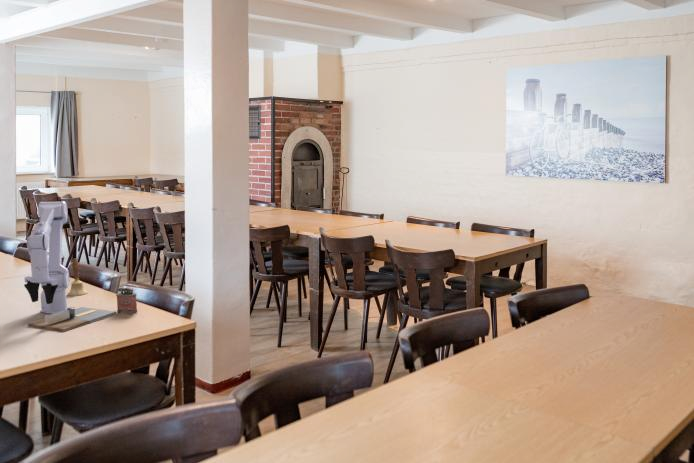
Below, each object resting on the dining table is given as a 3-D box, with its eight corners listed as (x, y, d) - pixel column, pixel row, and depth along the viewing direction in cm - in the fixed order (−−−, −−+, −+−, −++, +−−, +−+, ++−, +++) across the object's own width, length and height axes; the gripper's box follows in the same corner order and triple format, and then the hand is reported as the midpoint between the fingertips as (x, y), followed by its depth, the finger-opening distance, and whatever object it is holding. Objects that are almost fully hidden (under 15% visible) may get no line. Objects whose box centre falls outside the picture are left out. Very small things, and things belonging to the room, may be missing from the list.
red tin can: (138, 311, 275) (137, 286, 273) (135, 313, 271) (134, 288, 270) (119, 310, 276) (117, 286, 274) (115, 313, 272) (114, 288, 271)
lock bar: (71, 315, 264) (70, 307, 263) (76, 316, 262) (76, 307, 262) (44, 324, 252) (43, 315, 252) (49, 325, 251) (48, 316, 250)
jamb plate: (28, 326, 255) (28, 323, 255) (54, 318, 266) (54, 315, 266) (64, 331, 247) (64, 329, 247) (89, 323, 258) (89, 320, 258)
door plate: (54, 318, 266) (54, 315, 266) (82, 309, 278) (81, 306, 278) (89, 323, 258) (89, 320, 258) (116, 314, 271) (116, 311, 271)
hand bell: (83, 296, 302) (80, 260, 299) (64, 296, 302) (61, 260, 299) (90, 291, 310) (88, 256, 308) (72, 291, 310) (69, 256, 308)
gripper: (16, 267, 253) (19, 303, 255) (45, 270, 247) (47, 306, 249) (32, 263, 260) (35, 298, 262) (60, 266, 254) (63, 302, 256)
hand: (42, 302), depth 256 cm, fingers open, 7 cm apart
